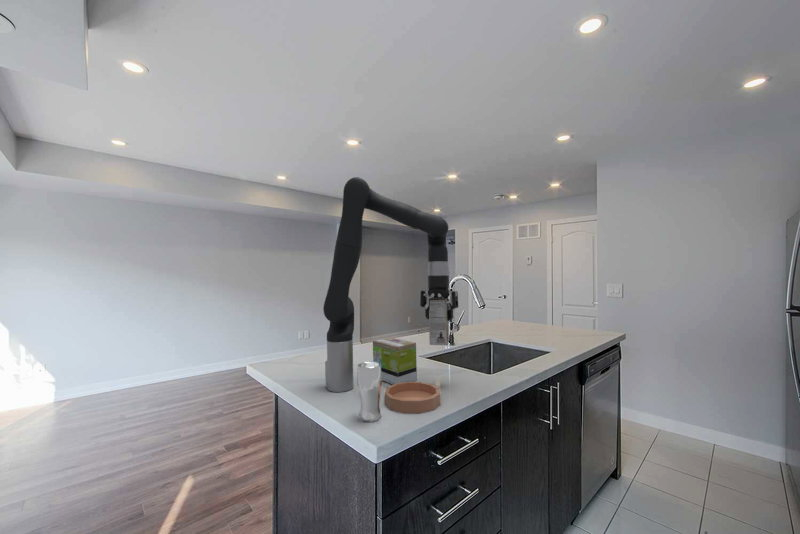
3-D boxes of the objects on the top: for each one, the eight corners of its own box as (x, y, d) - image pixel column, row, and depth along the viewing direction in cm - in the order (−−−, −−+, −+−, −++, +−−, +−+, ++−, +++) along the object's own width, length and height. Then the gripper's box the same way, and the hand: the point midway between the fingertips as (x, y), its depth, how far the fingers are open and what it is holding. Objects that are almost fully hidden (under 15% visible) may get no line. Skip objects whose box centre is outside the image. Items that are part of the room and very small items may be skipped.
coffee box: (432, 339, 124) (431, 296, 124) (449, 340, 123) (448, 296, 123) (429, 345, 115) (428, 298, 115) (447, 345, 114) (446, 298, 114)
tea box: (372, 378, 130) (371, 340, 130) (391, 372, 137) (391, 336, 137) (398, 387, 119) (397, 346, 119) (417, 380, 126) (417, 341, 126)
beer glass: (358, 413, 98) (357, 361, 98) (382, 411, 98) (381, 360, 99) (357, 423, 91) (356, 368, 91) (383, 422, 91) (381, 367, 92)
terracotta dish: (374, 405, 103) (374, 393, 103) (405, 388, 117) (405, 378, 117) (421, 418, 93) (421, 405, 93) (449, 398, 107) (449, 387, 107)
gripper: (415, 274, 120) (416, 319, 120) (451, 274, 112) (452, 322, 112) (426, 274, 127) (427, 317, 126) (461, 274, 118) (462, 319, 118)
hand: (439, 319), depth 119 cm, fingers closed on coffee box, 8 cm apart
